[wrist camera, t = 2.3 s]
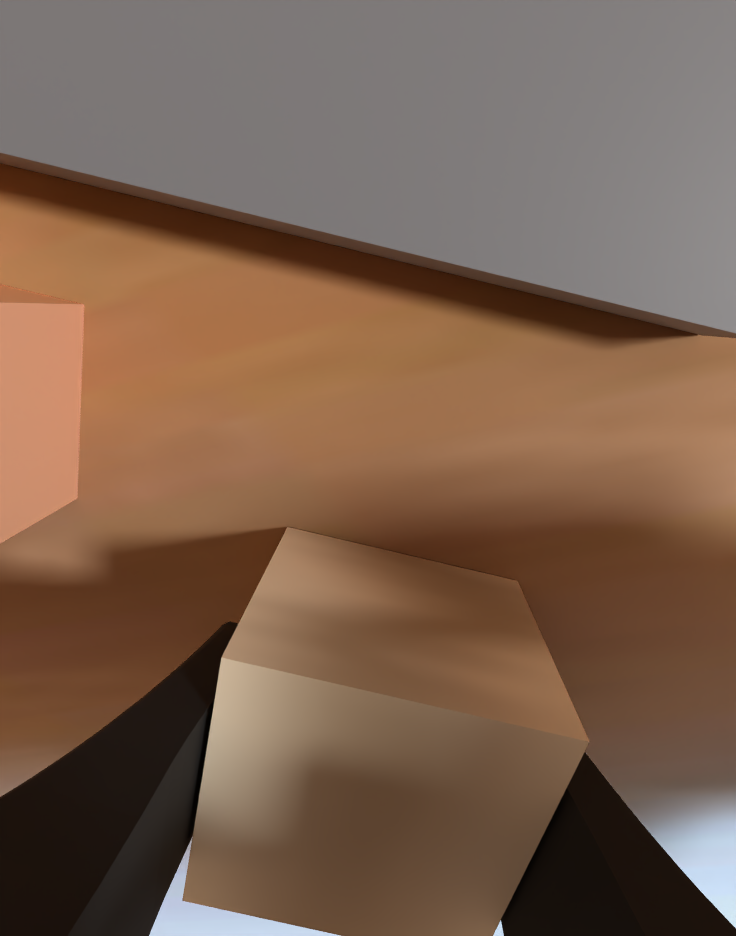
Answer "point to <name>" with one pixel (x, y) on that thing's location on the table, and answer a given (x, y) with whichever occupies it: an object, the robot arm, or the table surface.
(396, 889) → the birch block
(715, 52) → the base board
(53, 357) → the terracotta cube
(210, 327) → the table surface
